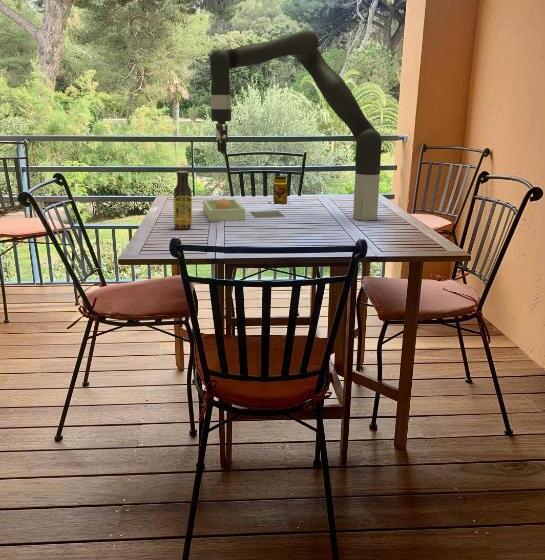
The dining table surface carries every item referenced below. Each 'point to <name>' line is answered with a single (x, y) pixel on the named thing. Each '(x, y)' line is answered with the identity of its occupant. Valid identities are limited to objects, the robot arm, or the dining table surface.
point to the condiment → (280, 190)
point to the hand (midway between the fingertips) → (222, 152)
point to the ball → (223, 204)
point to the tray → (223, 211)
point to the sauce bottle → (182, 202)
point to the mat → (267, 214)
